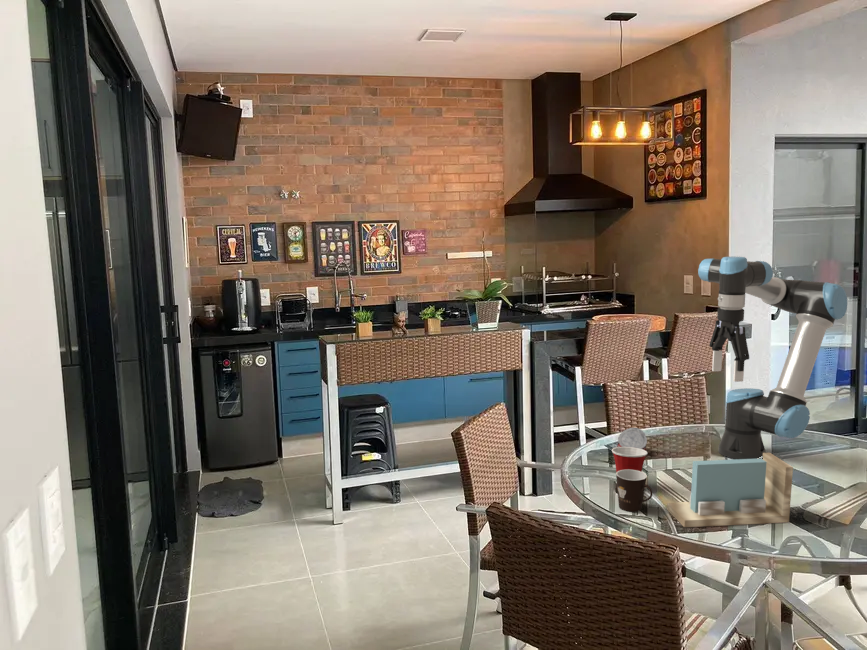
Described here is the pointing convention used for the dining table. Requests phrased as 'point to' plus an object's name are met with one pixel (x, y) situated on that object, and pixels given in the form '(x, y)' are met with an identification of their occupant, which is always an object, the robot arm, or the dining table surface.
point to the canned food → (632, 438)
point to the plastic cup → (629, 458)
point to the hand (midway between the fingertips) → (727, 376)
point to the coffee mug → (631, 489)
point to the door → (727, 482)
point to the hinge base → (745, 502)
